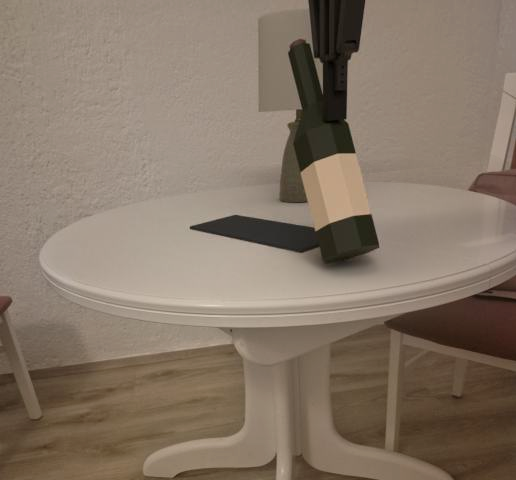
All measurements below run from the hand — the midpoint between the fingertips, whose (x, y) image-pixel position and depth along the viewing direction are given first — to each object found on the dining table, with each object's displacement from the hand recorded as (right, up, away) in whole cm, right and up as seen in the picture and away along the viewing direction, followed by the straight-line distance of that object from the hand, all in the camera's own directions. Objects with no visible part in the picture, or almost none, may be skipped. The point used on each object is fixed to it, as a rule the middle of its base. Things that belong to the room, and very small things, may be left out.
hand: (334, 119), depth 63 cm
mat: (-9, -8, +26) cm, 29 cm away
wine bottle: (+3, -17, +4) cm, 18 cm away
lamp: (+1, +6, +54) cm, 54 cm away
